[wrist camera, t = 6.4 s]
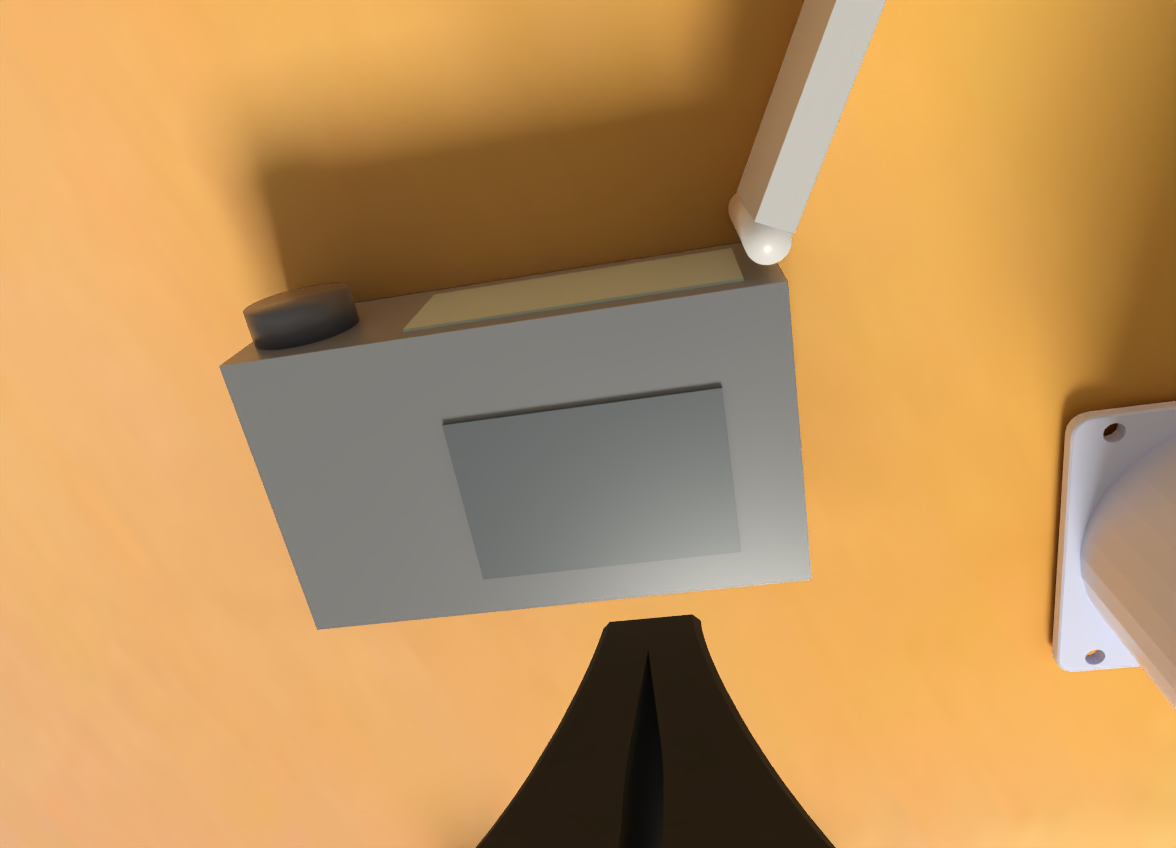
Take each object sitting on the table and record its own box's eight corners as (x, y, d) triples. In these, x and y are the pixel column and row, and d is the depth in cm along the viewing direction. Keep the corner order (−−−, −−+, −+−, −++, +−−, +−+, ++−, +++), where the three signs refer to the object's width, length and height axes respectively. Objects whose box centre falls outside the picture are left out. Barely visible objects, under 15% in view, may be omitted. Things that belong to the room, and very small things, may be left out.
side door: (774, 237, 20) (801, 277, 16) (722, 220, 20) (738, 258, 16) (941, -198, 16) (1023, -269, 12) (878, -220, 16) (942, -297, 12)
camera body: (760, 205, 19) (785, 241, 16) (785, 493, 23) (812, 582, 19) (282, 282, 21) (203, 332, 17) (367, 542, 24) (315, 632, 20)
